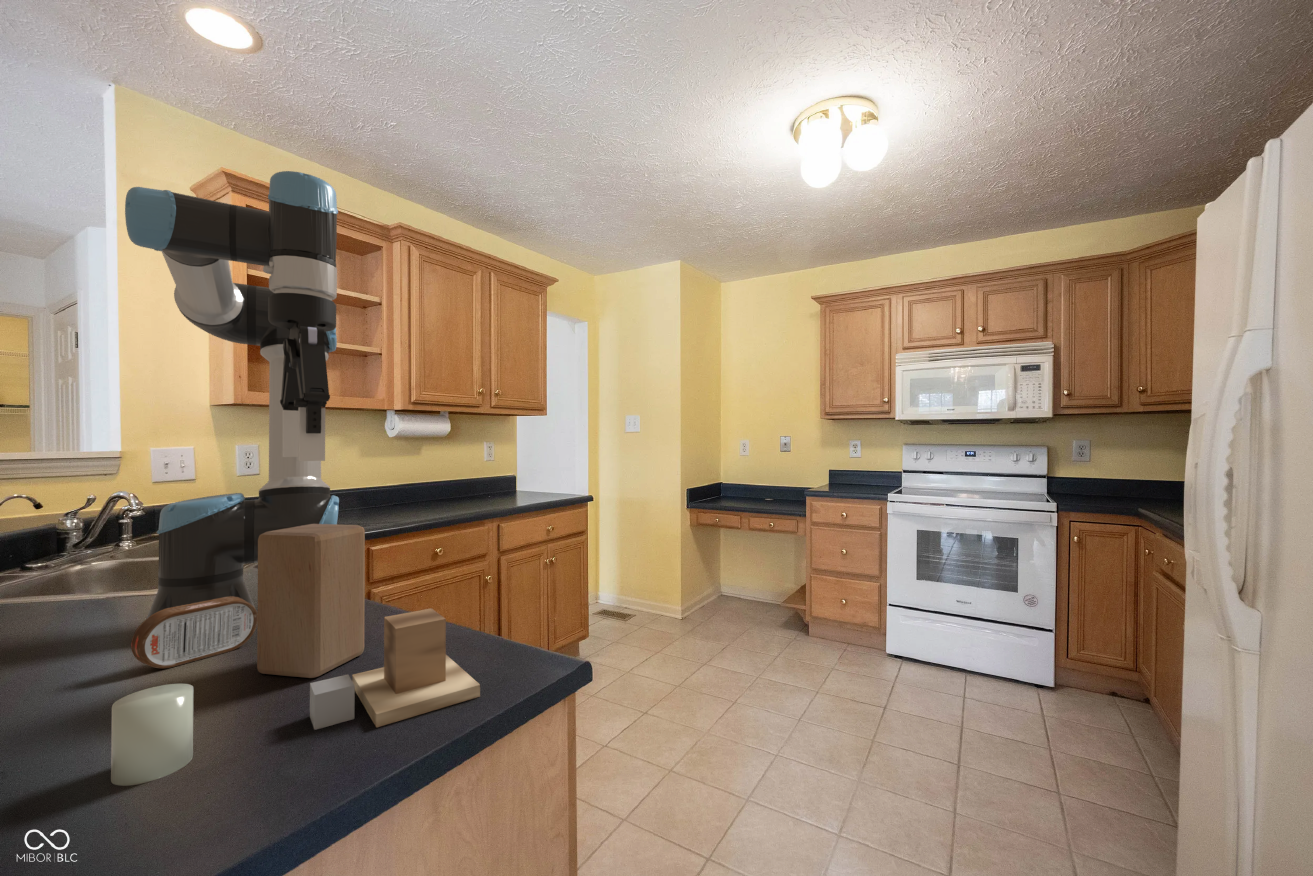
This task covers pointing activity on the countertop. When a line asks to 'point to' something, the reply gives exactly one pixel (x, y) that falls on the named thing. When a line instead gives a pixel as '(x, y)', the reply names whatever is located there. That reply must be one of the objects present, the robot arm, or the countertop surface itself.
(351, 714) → the slate cube
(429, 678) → the walnut block
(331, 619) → the block
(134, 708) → the pale green rounded cylinder
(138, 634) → the tin
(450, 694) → the board
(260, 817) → the countertop surface
